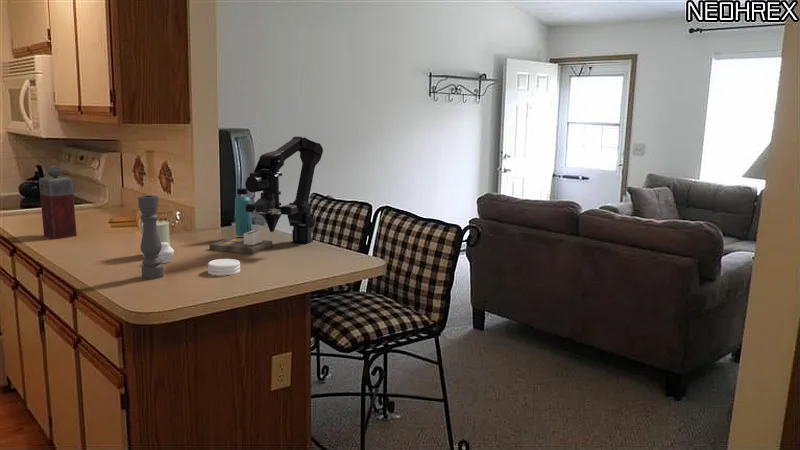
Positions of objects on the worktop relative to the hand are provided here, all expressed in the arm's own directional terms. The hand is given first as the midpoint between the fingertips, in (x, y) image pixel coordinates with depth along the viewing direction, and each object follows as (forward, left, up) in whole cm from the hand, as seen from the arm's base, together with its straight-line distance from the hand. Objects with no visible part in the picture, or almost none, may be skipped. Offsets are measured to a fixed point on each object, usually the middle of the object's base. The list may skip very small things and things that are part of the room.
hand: (272, 231), depth 237 cm
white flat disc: (-1, +32, -8) cm, 33 cm away
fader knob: (+8, 0, -5) cm, 9 cm away
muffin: (+25, +28, -7) cm, 38 cm away
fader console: (+13, 0, -7) cm, 15 cm away
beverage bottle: (+22, -16, -7) cm, 28 cm away
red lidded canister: (+92, +8, -7) cm, 93 cm away
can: (+34, +21, -7) cm, 41 cm away
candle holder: (+16, +45, -7) cm, 48 cm away
